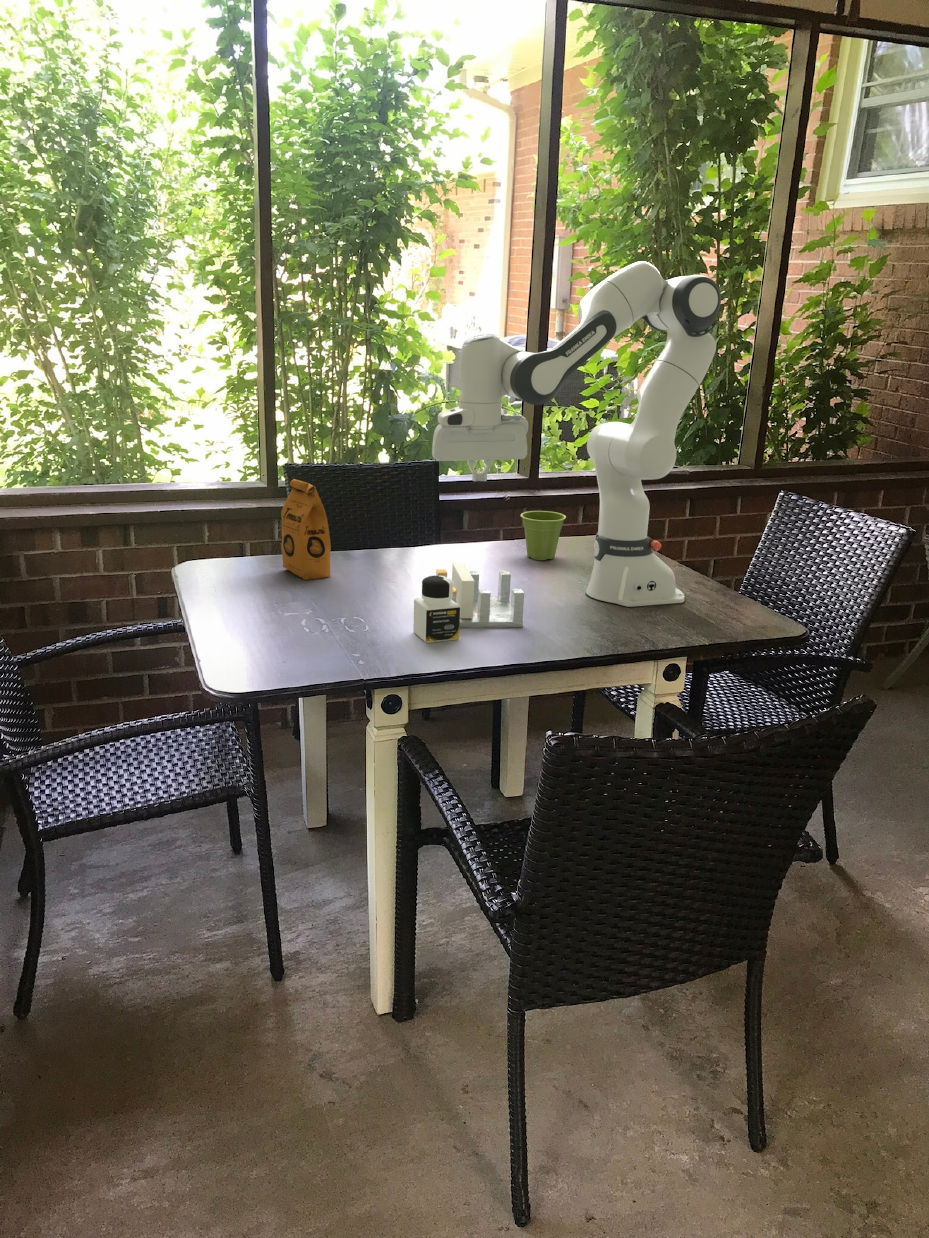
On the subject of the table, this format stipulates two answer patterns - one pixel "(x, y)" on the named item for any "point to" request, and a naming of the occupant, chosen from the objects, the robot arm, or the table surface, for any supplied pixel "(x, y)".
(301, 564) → the coffee package
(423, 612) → the medicine bottle
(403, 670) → the table surface
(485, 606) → the panel rack
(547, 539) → the plant pot
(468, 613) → the panel
